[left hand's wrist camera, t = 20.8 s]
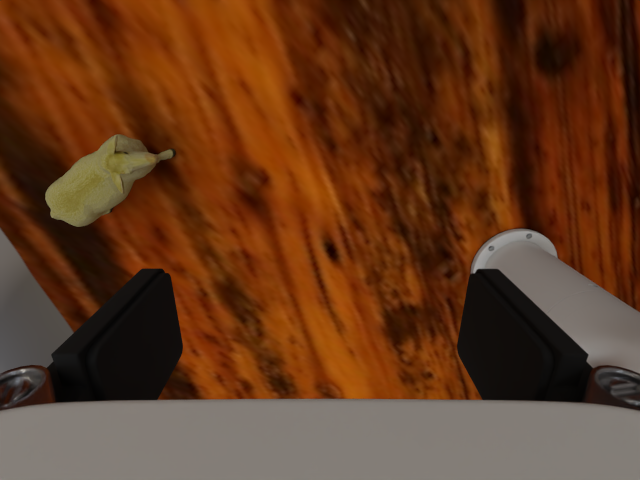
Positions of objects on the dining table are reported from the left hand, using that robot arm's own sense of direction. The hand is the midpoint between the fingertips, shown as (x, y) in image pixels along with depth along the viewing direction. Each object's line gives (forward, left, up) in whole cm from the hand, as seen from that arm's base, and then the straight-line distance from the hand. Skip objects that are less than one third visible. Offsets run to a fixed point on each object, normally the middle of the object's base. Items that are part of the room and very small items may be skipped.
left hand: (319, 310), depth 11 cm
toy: (+18, +18, -40) cm, 47 cm away
